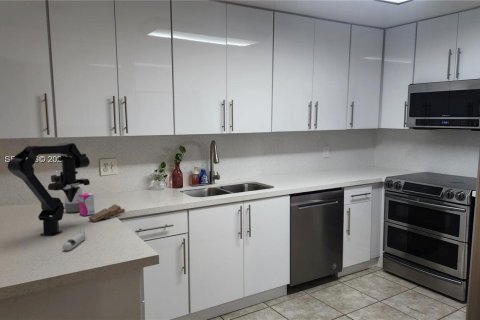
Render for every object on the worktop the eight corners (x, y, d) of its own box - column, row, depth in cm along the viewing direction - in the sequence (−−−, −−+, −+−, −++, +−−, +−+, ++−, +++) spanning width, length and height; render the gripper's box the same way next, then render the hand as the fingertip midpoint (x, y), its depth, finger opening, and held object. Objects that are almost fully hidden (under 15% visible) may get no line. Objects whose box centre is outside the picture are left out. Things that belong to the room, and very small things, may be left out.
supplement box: (89, 213, 201) (88, 192, 200) (95, 214, 197) (94, 193, 196) (79, 215, 196) (78, 194, 195) (84, 216, 192) (83, 195, 191)
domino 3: (112, 213, 191) (124, 209, 201) (105, 212, 193) (117, 208, 202) (112, 216, 191) (124, 211, 201) (105, 215, 193) (117, 211, 202)
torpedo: (72, 252, 139) (71, 235, 139) (59, 252, 139) (58, 235, 139) (90, 237, 157) (89, 223, 157) (79, 237, 157) (78, 223, 157)
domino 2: (104, 216, 186) (120, 206, 193) (98, 214, 189) (114, 204, 196) (105, 219, 187) (121, 208, 194) (99, 216, 190) (115, 206, 197)
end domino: (109, 217, 190) (123, 213, 198) (102, 215, 192) (117, 211, 201) (109, 220, 190) (123, 215, 198) (102, 218, 192) (117, 214, 201)
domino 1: (93, 219, 181) (111, 210, 188) (88, 217, 184) (105, 208, 191) (94, 222, 181) (111, 213, 188) (89, 219, 184) (106, 210, 191)
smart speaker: (77, 209, 210) (76, 185, 209) (86, 211, 205) (85, 186, 204) (61, 212, 203) (60, 187, 201) (70, 214, 197) (69, 189, 196)
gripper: (74, 166, 182) (75, 197, 184) (39, 170, 166) (41, 204, 167) (89, 167, 178) (91, 199, 179) (55, 172, 161) (57, 206, 162)
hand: (70, 202), depth 172 cm, fingers closed
